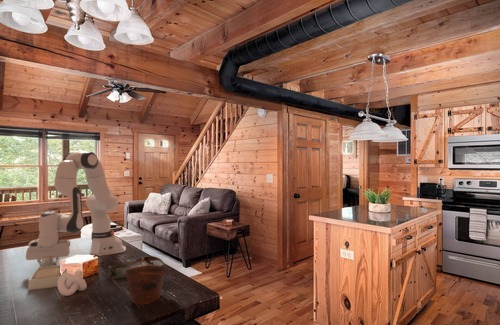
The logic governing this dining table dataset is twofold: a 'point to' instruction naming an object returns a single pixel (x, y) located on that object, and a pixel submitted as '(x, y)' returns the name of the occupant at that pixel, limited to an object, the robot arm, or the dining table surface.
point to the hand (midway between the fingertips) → (48, 265)
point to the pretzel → (71, 283)
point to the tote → (44, 280)
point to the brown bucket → (145, 279)
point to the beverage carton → (118, 270)
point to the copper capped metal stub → (48, 261)
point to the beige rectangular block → (48, 273)
